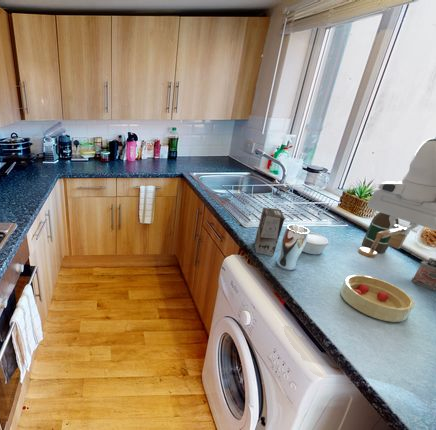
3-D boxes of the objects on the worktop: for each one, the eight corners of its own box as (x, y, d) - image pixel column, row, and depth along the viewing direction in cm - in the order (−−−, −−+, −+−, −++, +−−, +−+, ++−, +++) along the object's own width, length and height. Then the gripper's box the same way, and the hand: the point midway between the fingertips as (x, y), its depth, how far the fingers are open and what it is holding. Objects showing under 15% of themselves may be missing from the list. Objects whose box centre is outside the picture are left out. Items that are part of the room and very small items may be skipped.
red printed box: (411, 282, 96) (425, 257, 92) (411, 278, 98) (424, 253, 94) (445, 293, 91) (462, 267, 87) (444, 288, 93) (460, 263, 89)
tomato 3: (380, 299, 88) (391, 299, 86) (378, 302, 86) (389, 301, 84) (376, 291, 88) (387, 290, 86) (374, 293, 87) (385, 293, 85)
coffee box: (274, 256, 109) (285, 218, 102) (255, 253, 111) (265, 215, 104) (271, 245, 117) (281, 209, 110) (253, 242, 119) (263, 206, 112)
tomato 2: (355, 283, 91) (356, 291, 91) (360, 287, 88) (361, 295, 89) (365, 282, 90) (365, 290, 91) (370, 286, 88) (371, 294, 88)
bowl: (417, 314, 82) (425, 300, 80) (387, 330, 77) (395, 316, 75) (358, 282, 95) (364, 270, 93) (328, 294, 90) (334, 281, 87)
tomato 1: (364, 299, 86) (356, 295, 89) (364, 290, 86) (356, 287, 88) (356, 300, 86) (348, 296, 89) (356, 291, 86) (348, 288, 88)
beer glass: (279, 257, 108) (290, 222, 102) (299, 265, 104) (312, 229, 97) (272, 265, 104) (283, 228, 97) (293, 273, 99) (306, 235, 93)
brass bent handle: (370, 259, 86) (380, 238, 83) (354, 251, 90) (363, 232, 87) (402, 249, 93) (413, 230, 90) (386, 242, 97) (396, 224, 94)
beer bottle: (368, 252, 113) (394, 196, 103) (356, 243, 120) (379, 189, 110) (390, 255, 112) (418, 197, 102) (377, 245, 119) (402, 190, 109)
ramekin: (312, 241, 120) (316, 230, 118) (331, 256, 110) (336, 244, 108) (286, 241, 120) (289, 230, 118) (303, 256, 110) (307, 244, 107)
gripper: (473, 202, 78) (446, 245, 84) (384, 180, 95) (368, 217, 101) (462, 205, 76) (436, 249, 82) (373, 182, 93) (357, 220, 99)
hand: (398, 231), depth 92 cm, fingers closed on brass bent handle, 2 cm apart
